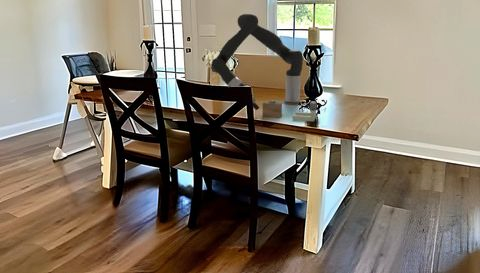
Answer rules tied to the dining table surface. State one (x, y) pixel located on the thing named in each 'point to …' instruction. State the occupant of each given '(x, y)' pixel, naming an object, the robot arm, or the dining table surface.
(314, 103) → the knob
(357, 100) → the dining table surface
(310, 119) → the mount
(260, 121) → the dining table surface
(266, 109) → the slider block
